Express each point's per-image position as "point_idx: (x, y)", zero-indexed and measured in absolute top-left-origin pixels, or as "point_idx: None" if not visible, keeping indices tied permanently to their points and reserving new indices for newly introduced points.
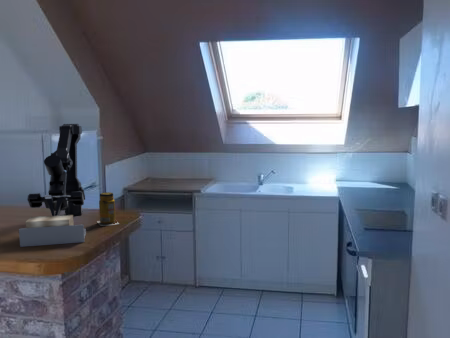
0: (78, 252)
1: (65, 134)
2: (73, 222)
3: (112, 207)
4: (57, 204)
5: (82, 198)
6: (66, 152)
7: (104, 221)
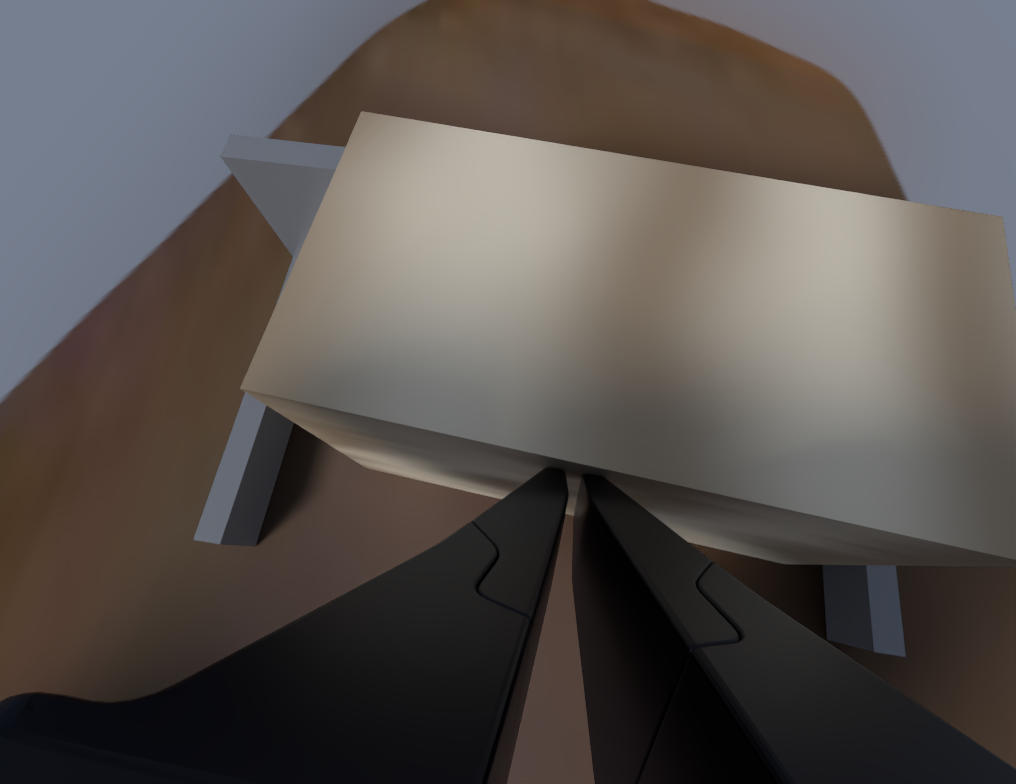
0: (396, 64)
1: None
2: (302, 424)
3: None
4: (501, 586)
5: None
6: None
7: None
